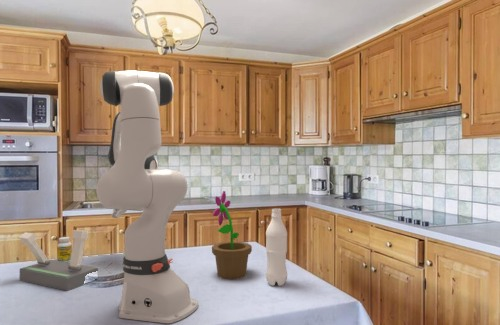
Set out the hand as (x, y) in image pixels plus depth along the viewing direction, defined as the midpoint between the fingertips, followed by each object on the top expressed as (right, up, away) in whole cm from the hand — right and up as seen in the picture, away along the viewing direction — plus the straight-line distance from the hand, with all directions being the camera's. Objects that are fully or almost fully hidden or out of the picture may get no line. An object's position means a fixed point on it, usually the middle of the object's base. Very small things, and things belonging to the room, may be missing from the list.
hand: (114, 217), depth 136 cm
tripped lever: (-8, -15, -16) cm, 23 cm away
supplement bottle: (-24, -20, +10) cm, 33 cm away
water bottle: (+61, -20, -17) cm, 66 cm away
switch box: (-15, -20, -12) cm, 28 cm away
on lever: (-22, -14, -9) cm, 28 cm away
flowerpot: (+45, -20, -7) cm, 50 cm away
